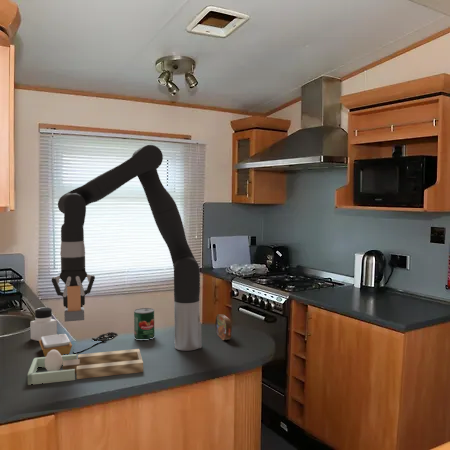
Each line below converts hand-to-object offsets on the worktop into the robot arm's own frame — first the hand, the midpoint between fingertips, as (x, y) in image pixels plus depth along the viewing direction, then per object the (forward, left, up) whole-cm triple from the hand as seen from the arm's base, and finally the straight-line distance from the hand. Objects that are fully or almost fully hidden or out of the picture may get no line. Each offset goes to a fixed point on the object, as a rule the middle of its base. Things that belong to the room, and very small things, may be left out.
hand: (74, 307), depth 150 cm
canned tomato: (-25, -23, -20) cm, 39 cm away
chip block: (+1, +5, -20) cm, 20 cm away
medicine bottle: (+13, -34, -20) cm, 42 cm away
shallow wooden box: (-11, +6, -19) cm, 23 cm away
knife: (-6, -21, -20) cm, 30 cm away
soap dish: (+7, -16, -20) cm, 26 cm away
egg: (+6, +5, -20) cm, 21 cm away
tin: (-55, -15, -20) cm, 60 cm away
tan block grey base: (0, 0, -4) cm, 4 cm away
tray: (+6, +6, -19) cm, 21 cm away
